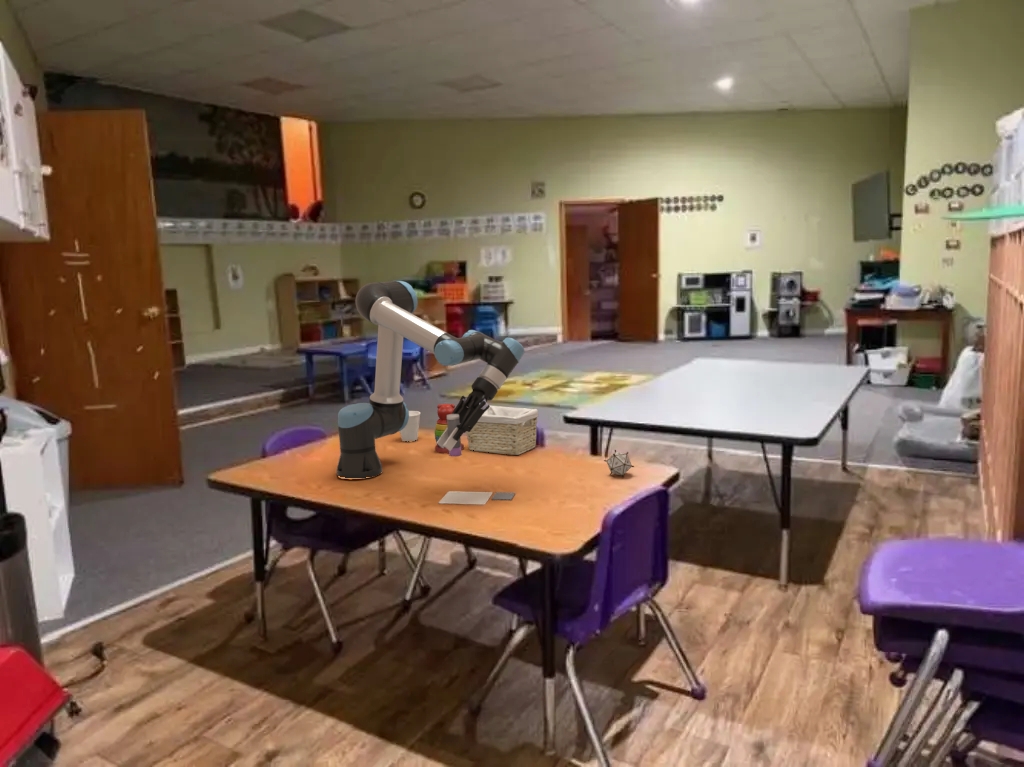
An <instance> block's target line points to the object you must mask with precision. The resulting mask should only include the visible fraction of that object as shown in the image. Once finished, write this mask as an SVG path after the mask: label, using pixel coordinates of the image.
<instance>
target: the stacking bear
mask: <svg viewBox="0 0 1024 767" xmlns="http://www.w3.org/2000/svg"><path fill="white" fill-rule="evenodd" d="M436 408H437V412H436V413H437V417H438V419H437V421H436V423H435V426H434V427H435V429H434V440H435V442H437V441H438V440H439V438H440V437H441V435H442V434H443V433H444V431H445V430H446V428H447V422H446V421H447V415H449V414H451V413H452V412H453V410H454V409H455V408H456V405H455V404H454V403H450V404H449V403H443V404H441V403H439V404H437V406H436ZM464 448H465V445H464V443H462V442H461V449H462V450H464ZM434 451H435V452H436V453H438V452H439V454H444V453H447V454H449V450H448V449H447V448H446V447H444V448H442V447H441V446H439V445H438V444H437V443H436V444H435V446H434Z"/></svg>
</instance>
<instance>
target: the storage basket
mask: <svg viewBox="0 0 1024 767" xmlns="http://www.w3.org/2000/svg"><path fill="white" fill-rule="evenodd" d="M488 405H489V404H488ZM489 406H490V407H489V408H488V409H487V410H486V411H485V412H484V414H483V415H482V416H481V418H480V419H479V420H478V422H477V423H476V424H475V426H474V427H473V428H472V430H471V431H470V432H468V431H466V432H465V433H466V436H467V438H466V439H467V446H468V450H469V451H473V450H474V451H473V452H482V453H483V452H484V453H488V452H489V453H490V454H491V453H494V454H498V455H499V454H500V455H506V454H507V455H511V456H519V455H522V454H524V453H526V452H528V451H530V450H533V449H535V447H537V424H538V417H539V411H538V409H537V408H534V409H533V408H527V407H526V408H524V407H511V406H510V407H508V406H500V405H489ZM481 409H482V408H481Z"/></svg>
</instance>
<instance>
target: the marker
mask: <svg viewBox="0 0 1024 767" xmlns="http://www.w3.org/2000/svg"><path fill="white" fill-rule="evenodd" d="M457 425H460V422H459V414H449V415H447V427H448V438H449V436H450V435H451V433H452V432H453V431H454V429H455V428H456V427H457ZM457 428H458V427H457ZM458 429H459V428H458ZM461 438H462V437H460V438H459V440H458V441H457V443H456V444H455V445H454V447H453V448H452V450H451V451H449V453H448V454H449V456H450V457H460V456H462V450H461V443H462V440H461Z"/></svg>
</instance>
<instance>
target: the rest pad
mask: <svg viewBox="0 0 1024 767" xmlns="http://www.w3.org/2000/svg"><path fill="white" fill-rule="evenodd" d="M515 496H516V492H503V491H501V492H500V491H499V492H498V491H497V492H496V491H495V493H494V494H493V495H492V496H491V500H492V501H513V499H514V498H515ZM512 498H513V499H512Z"/></svg>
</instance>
